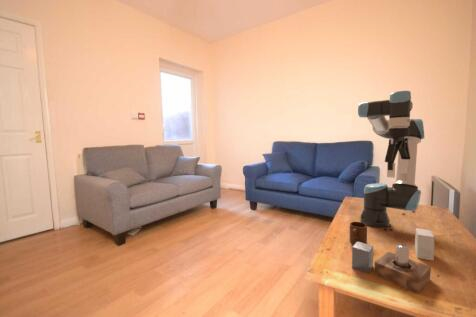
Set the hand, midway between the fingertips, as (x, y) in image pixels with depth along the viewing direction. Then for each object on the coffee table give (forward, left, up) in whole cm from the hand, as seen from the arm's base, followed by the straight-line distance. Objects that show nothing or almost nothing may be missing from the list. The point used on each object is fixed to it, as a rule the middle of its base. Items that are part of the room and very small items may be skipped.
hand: (397, 175), depth 103 cm
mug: (-13, -9, -35) cm, 38 cm away
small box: (+10, +3, -35) cm, 37 cm away
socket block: (+10, -21, -35) cm, 42 cm away
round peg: (+10, -21, -35) cm, 42 cm away
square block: (-2, -26, -35) cm, 43 cm away
